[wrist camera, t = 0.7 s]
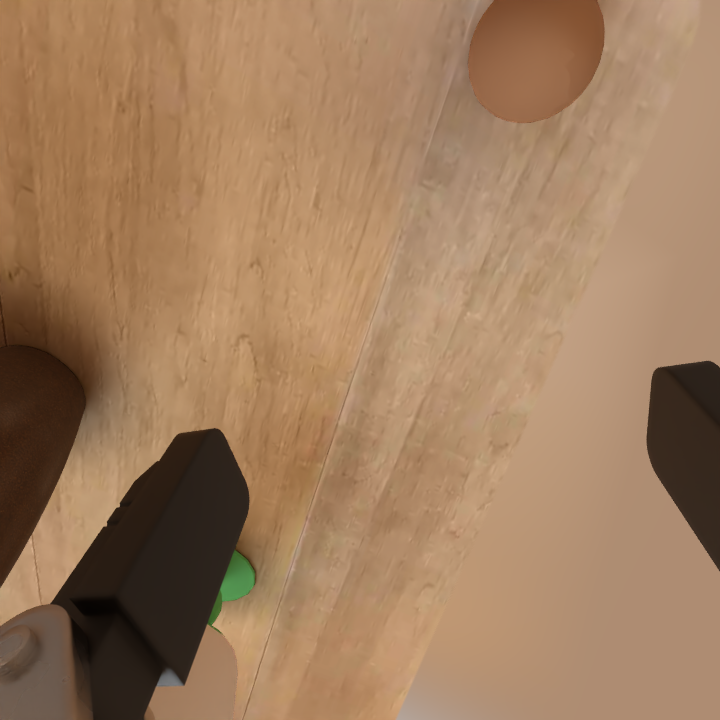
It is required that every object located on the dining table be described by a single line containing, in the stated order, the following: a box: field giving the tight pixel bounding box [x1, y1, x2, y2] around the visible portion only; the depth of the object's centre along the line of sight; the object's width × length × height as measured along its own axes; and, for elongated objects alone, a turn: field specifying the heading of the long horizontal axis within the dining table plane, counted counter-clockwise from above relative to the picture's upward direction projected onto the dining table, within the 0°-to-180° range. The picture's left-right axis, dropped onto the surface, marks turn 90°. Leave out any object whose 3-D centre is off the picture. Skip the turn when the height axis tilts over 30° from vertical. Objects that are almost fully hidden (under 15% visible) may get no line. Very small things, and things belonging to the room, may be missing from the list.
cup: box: [148, 550, 255, 720], centre depth 38 cm, size 14×14×16 cm
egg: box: [468, 0, 604, 123], centre depth 20 cm, size 5×5×8 cm
